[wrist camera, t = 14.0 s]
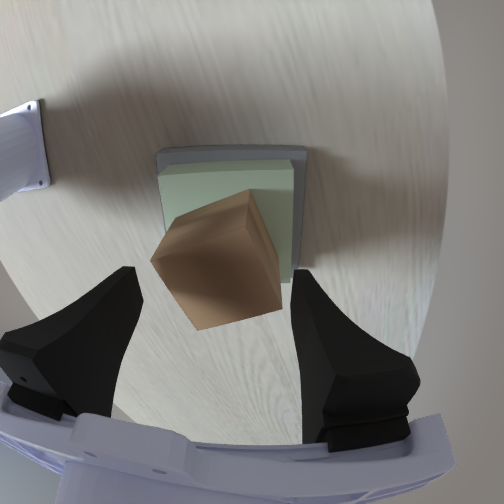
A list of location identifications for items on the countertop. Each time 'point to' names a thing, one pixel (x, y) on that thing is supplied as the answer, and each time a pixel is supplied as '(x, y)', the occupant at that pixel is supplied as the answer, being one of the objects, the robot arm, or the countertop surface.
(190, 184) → the tower top
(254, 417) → the countertop surface
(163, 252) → the walnut block
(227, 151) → the tower base
